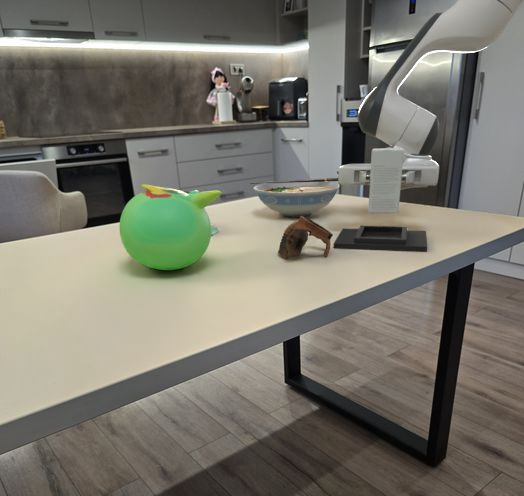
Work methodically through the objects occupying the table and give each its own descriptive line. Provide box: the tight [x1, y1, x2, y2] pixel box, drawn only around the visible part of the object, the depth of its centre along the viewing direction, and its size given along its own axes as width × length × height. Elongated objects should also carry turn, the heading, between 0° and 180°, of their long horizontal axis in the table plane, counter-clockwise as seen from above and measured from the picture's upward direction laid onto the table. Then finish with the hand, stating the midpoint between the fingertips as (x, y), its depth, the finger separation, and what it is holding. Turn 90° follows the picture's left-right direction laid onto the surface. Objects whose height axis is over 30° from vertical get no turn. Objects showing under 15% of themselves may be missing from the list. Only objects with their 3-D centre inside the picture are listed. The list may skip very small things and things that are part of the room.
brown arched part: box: [277, 216, 334, 260], centre depth 91 cm, size 12×10×8 cm
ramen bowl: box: [249, 177, 341, 218], centre depth 128 cm, size 25×23×8 cm
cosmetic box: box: [367, 147, 404, 215], centre depth 95 cm, size 6×4×12 cm
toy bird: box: [119, 183, 222, 271], centre depth 85 cm, size 18×17×15 cm
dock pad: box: [333, 224, 428, 253], centre depth 100 cm, size 18×14×2 cm
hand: (385, 179), depth 94 cm, fingers closed on cosmetic box, 6 cm apart
